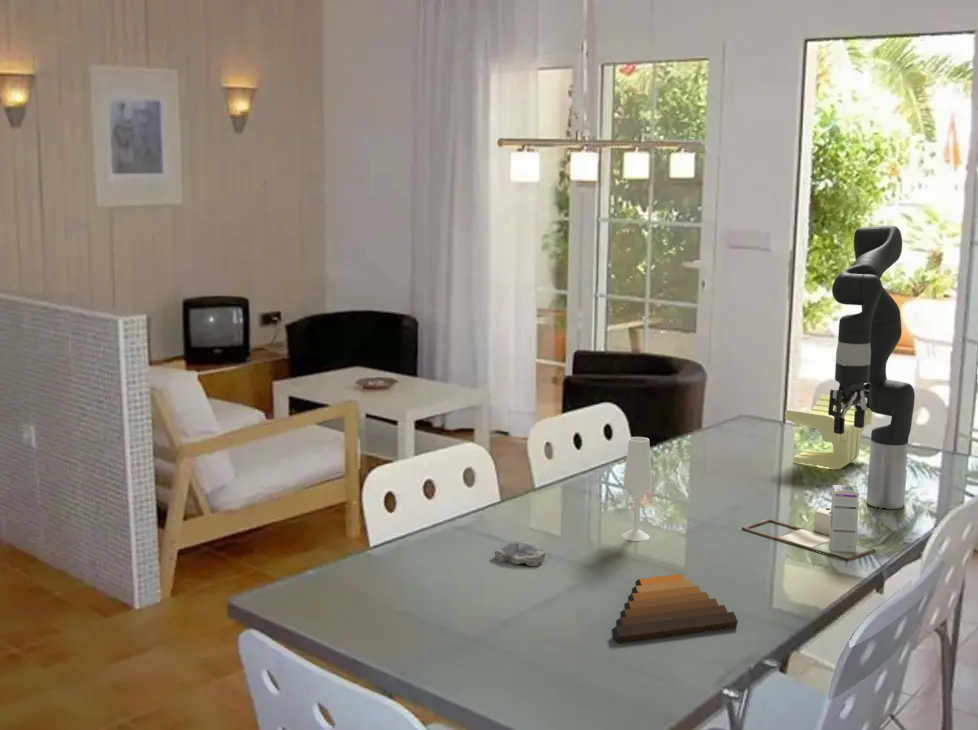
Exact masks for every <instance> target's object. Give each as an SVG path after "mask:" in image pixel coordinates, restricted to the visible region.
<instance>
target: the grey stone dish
mask: <svg viewBox="0 0 978 730" xmlns="http://www.w3.org/2000/svg"><path fill="white" fill-rule="evenodd" d="M494 554H495V555H494V556H495V557H494V558H495V559H496V560H497V561H498V562H501V563H504V562H506V561H508V562H510V563H512V564H515V565H517V564H526V566H529V567H538V566H541V565H542V564H543V561H544V559H545V555H546V551H544V550H543V548H540V547H538V546H537V545H536V544H533V543H530V542H527V541H526V542H525V541H515V542H510V543H509V542H507V543H505V544H504V543H502V544H500V546H499V547H497V548H496V549H494Z"/></svg>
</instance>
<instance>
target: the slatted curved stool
mask: <svg viewBox="0 0 978 730" xmlns="http://www.w3.org/2000/svg"><path fill="white" fill-rule="evenodd" d="M829 400H830V394H825V393H820V396H819V398H818V399H817V401H816V402H815V405H814V406H813V407H812V408H811V410H810V411H809V412H803V411H802V412H801V411H794V410H787V409H785V411H784V420H785V421H788V422H791V423H793V424H795V425H801V426H806V427H809V428H813V429H816V430H817V431H818V433H819V434H820V435H821V439H822V442H825V443H832V444H831V445H832V447H833V451H822V450H814V449H813V450H812V449H808V448H807V449H805V450H804V451H802V452H800V453H798V454H797V455H794V457H793V461H792V463H793V462H797V463H805V464H812V465H819V466H824V467H829V468H833V469H838V470H840V469H843V468H844V467H846V466H847V465H849V464H850V463H852V462H854V461H855V460H856V459H858V457H859V454H860V447H861V443H862V435H863V431H864V430H865V428H866V426H868V425H872V416H873V415H872V414H873V412H872V411H871V410H870V408H867V411H866V412H865V418H864V427H863V428H858V427H855V426H854V416H855V411H857V410H855V408H854V406H851V408H850V410H848V411H847V412H846V415H845V417H844V418H845V423H844V433H843V434H837V433H834V417H833V416H831V415H829V414H828V411H829ZM866 402H867V400H866ZM834 409H835V406H834V407H833V411H834ZM842 410H843V409H841V412H842ZM838 470H837V471H838Z"/></svg>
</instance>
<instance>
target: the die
mask: <svg viewBox="0 0 978 730" xmlns="http://www.w3.org/2000/svg"><path fill="white" fill-rule="evenodd" d="M813 517H814V518H813V519H814V520H813V531H814V532H818V533H821V534H825V535H828V536H830V524H831V507H827V506H826V507H825V506H824V507H822V508H820V509H817V510H814V516H813Z"/></svg>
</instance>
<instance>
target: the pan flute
mask: <svg viewBox="0 0 978 730" xmlns="http://www.w3.org/2000/svg"><path fill="white" fill-rule="evenodd" d="M634 583H635V586H633V587H632V588H631V594H629V595H627V602H625V603H624V604H623V606H624V607H623V608H624V609H622V610H621V611H619V612H620V614H619V615H620V617H619V618H618V619H617V620H615V625H616V626H615V627H613V628H611V636H612V639H613V640H614V641H615V642H616V643H617V644H623V643H631V642H638V641H647V640H653V639H654V640H655V639H663V638H670V637H677V636H676V635H678V636H683V635H684V634H686V635H691V634H692V633H694V634H701V633H706V632H705V631H709V632H715V631H714V630H717V631H721V630H720V629H724V630H728V629H727V628H732V629H734V628H733V627H736V628H737V626H738V623H739V621H738V619H737V617H736V614H735V612H734V611H728V610H727V607H726V606H725V604H722V605H721V604H720V605H719V604H718V601H717V599H716V598H710V596H709V594H708V592H707V591H703V592H702V591H701V589H700V587H699V585H693V583H692V581H691V579H685V577H684V574H683V573H679V574H669V575H662V576H652V577H651V576H650V577H643V578H638V579H637V580H635V582H634ZM700 632H701V633H700ZM684 636H685V635H684Z"/></svg>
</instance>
